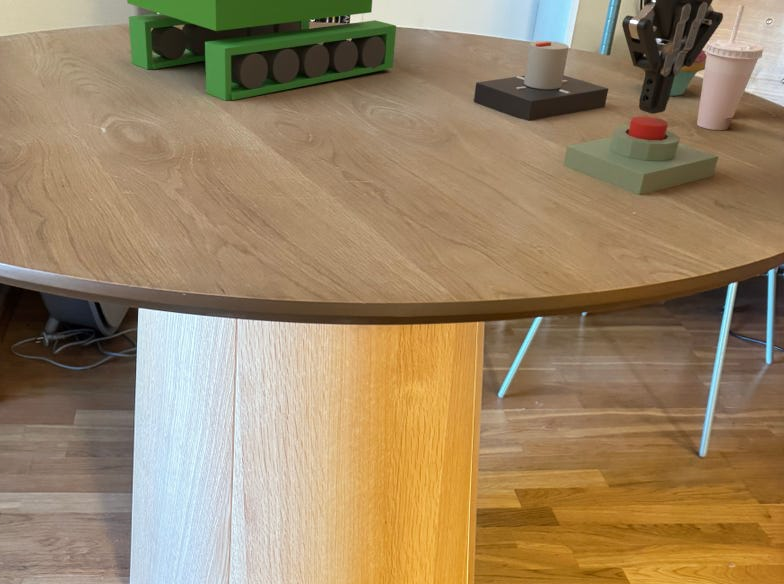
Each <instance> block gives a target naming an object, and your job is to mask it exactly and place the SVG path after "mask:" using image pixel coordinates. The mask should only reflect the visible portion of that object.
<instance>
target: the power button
mask: <svg viewBox="0 0 784 584" xmlns="http://www.w3.org/2000/svg"><path fill="white" fill-rule="evenodd" d="M629 125H630V128H629V132H628V135H630V136H633V137H635V138H639V139H645V140H664V137H665V133H666V130H668V125H669V123H668V122H667V121H666V120H664V119H662V118H658V117H653V116H647V115H646V116H645V115H642V116H641V115H639V116H634V117H632V118H631V120H630V124H629Z"/></svg>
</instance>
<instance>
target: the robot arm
mask: <svg viewBox="0 0 784 584" xmlns="http://www.w3.org/2000/svg"><path fill="white" fill-rule="evenodd" d="M713 1H714V0H643V7H642V9H641V10H639V11H638V12H637V14H636V15H635V16H633V15H626V16H624V18H623V19H622V24H621V26H622V31H623V33H624V37H625V40H626V44H627V48H628V51H629V56H630V58H631V62H632V66H633V67H635V68H639V69H641V70H643V71H644V80H643V83H642V87H641V92H640V96H639V104H638V108H639V110H640V111H643V112H645V113H649V114H652V115H654V114H659V113H663V112H665V111H666V110H667V105H668V102H669V100H670V92H671V89H672V85H673V81H674V77H675V75H678V74H679V73H680V71H681V69H682V67H684V66H687V67H690V66H691V65H692V64H693V63H694V61H695V60H696V58H697V57H698V55H699V54H700V52H701V51H702V50H704V48H706V46H707V42H708V41H710V40H711V38H712V36H713V35H714V34H715V32H716V31H717V29H718V28H719V27H720V25H721V23H722V22H723V19H724V14H723V12H720V11H719V12H718V11H715V10H714V8H713V6H712V3H713ZM687 51H688V52H687ZM686 52H687V53H686ZM644 54H645V55H644Z"/></svg>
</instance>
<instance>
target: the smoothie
mask: <svg viewBox="0 0 784 584" xmlns="http://www.w3.org/2000/svg"><path fill="white" fill-rule="evenodd" d="M744 9H745V4H739V5H738V9H737V13H736V15H735V19H734V24H733V27H732V31H731V34H730V37H729V39H710V40H709V41H708V42H707V44H706V45H705V49H704V51H705V53H706V56H707V57H706V63H705V69H704V70H703V78H702V84H701V93H700V98H699V106H698V114H697V119H696V125H697V126H698V127H700V128H703V129H707V130H712V131H713V130H714V131H725V130H728V129H729V127H730V125H731V123H732V121H733V120H732V119H731V118H734V116H735V113H736V112H737V109H738V106H739V104H740V103H741V99H742V97H743V95H744V93H745V91H746V88H747V86H748V83H749V81H750V79H751V76H752V74H753V72H754V70H755V68H756V66H757V63H758V60H759V59H761V58H762V57H763V53H764V50H765V49H764V47H763V46H761V45H759V44H757V43H753V42H749V41H742V40H737V39H736V37H737V34H738V30H739V27H740V23H741V21H742V16H743V13H744Z"/></svg>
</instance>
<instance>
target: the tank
mask: <svg viewBox="0 0 784 584" xmlns="http://www.w3.org/2000/svg"><path fill="white" fill-rule="evenodd" d="M126 3H127V4H128V5H131V6H135V7H138V8H140V9H141V8H142V9H144V10H148V11H150V12H153V13H152V14H151V13H150V14H143V15H142V14H140V15H132V16H128V25H129V26H128V27H129V38H130V39H129V41H130V43H129V44H130V53H131V54H130V55H131V56H130V57H131V64H133V65H134V66H137V67H139V68H143V69H145V70H156V69H163V68H170V67H176V66H181V65H188V64H193V63H200V62H204V63H205V93H206V94H208V95H211V96H213V97H215V98H218V99H221V100H223V101H231V100H232V101H236V100H240V99H246V98H250V97H255V96H259V95H265V94H271V93H275V92H276V93H277V92H281V91H285V90H289V89H295V88H300V87H305V86H310V85H316V84H321V83H324V82H325V83H326V82H330V81H334V80H335V81H336V80H339V79H344V78H345V79H346V78H350V77H354V76H355V77H356V76H360V75H365V74H371V73H376V72H380V71H385V70H391V69H394V56H395V47H396V34H397V25H396V24H391V23H388V22H383V21H380V20H374V19H373V20H367V21H359V22H351V23H341V24H335V25H327V26H320V27H311V28H310V21H312V20H320V19H326V18H327V19H329V18H337V17H346V16H353V15H362V14H371V13H372V9H373V0H126ZM177 26H182V28H180V27H177ZM291 48H292V49H291ZM259 52H261V54H260V53H259ZM153 53H154V55H153Z"/></svg>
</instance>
